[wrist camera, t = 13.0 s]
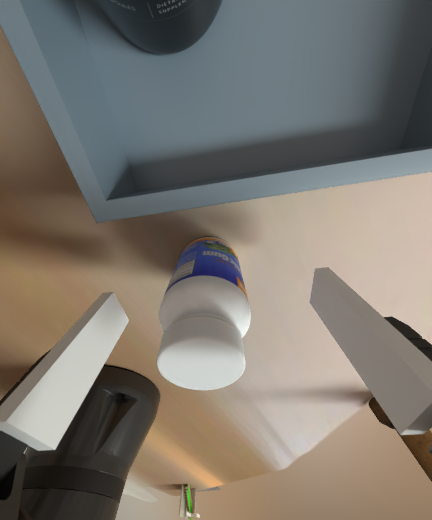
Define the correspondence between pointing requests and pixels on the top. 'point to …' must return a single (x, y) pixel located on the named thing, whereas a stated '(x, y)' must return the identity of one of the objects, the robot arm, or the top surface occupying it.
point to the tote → (231, 100)
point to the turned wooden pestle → (409, 439)
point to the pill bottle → (204, 318)
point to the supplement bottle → (161, 22)
